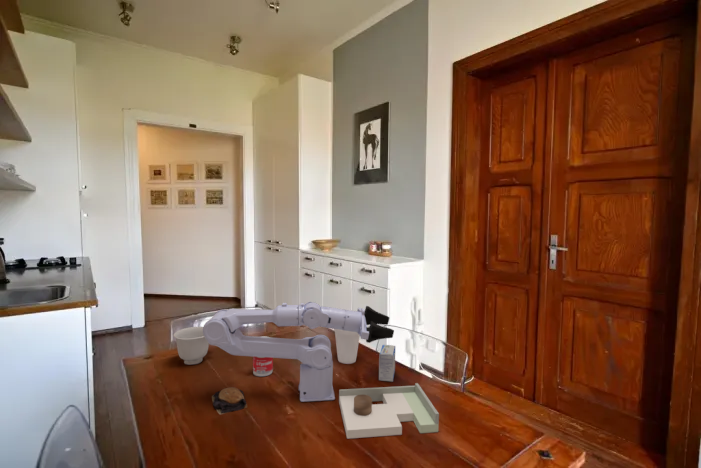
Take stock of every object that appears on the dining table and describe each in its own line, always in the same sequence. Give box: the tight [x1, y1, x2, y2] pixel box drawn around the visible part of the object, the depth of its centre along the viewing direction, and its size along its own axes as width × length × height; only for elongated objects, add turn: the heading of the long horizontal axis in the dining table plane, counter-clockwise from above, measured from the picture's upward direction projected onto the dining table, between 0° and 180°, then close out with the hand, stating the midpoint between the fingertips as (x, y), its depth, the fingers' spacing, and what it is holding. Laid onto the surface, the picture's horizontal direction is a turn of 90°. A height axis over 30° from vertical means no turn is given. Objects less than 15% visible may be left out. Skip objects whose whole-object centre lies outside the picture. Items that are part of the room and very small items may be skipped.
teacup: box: [173, 326, 210, 366], centre depth 121 cm, size 12×15×10 cm
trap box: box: [338, 382, 440, 439], centre depth 91 cm, size 22×16×4 cm
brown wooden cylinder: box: [354, 395, 373, 416], centre depth 90 cm, size 4×4×3 cm
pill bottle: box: [252, 335, 274, 377], centre depth 113 cm, size 6×6×11 cm
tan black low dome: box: [211, 386, 248, 415], centre depth 96 cm, size 11×8×4 cm
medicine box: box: [378, 344, 396, 383], centre depth 113 cm, size 8×4×9 cm, turn 168°
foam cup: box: [333, 329, 361, 365], centre depth 124 cm, size 10×9×13 cm
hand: (390, 327), depth 102 cm, fingers open, 7 cm apart
